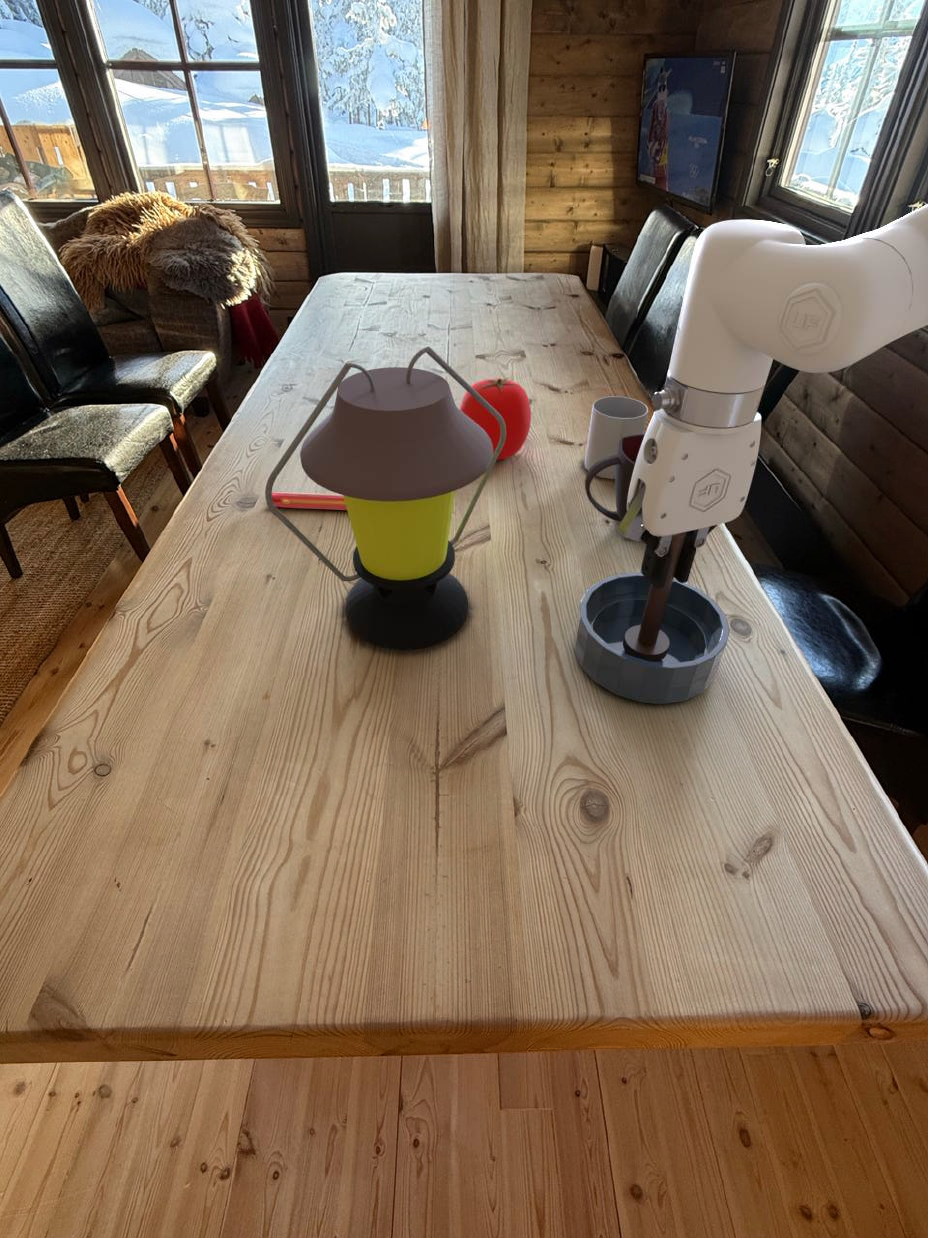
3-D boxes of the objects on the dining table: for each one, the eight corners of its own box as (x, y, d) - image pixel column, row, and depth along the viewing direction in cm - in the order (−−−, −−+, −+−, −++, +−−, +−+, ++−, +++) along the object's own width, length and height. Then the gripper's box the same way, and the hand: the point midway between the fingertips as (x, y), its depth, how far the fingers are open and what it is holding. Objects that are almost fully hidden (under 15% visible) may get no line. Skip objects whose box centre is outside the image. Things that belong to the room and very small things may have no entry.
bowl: (723, 634, 77) (738, 594, 73) (701, 728, 66) (717, 686, 62) (595, 598, 81) (602, 559, 77) (555, 680, 71) (561, 639, 67)
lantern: (294, 672, 71) (233, 403, 52) (306, 567, 86) (262, 326, 66) (520, 655, 73) (544, 392, 54) (494, 556, 88) (506, 319, 68)
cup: (596, 450, 112) (605, 392, 105) (643, 462, 108) (655, 403, 102) (576, 470, 106) (584, 410, 99) (625, 484, 103) (636, 423, 96)
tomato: (541, 462, 108) (549, 386, 100) (478, 476, 104) (480, 399, 96) (506, 432, 116) (510, 359, 108) (446, 444, 113) (445, 370, 104)
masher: (671, 640, 73) (705, 523, 63) (662, 668, 70) (697, 549, 60) (628, 628, 74) (655, 512, 64) (617, 654, 71) (644, 537, 61)
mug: (685, 547, 90) (707, 467, 82) (585, 549, 89) (598, 470, 81) (664, 508, 97) (683, 432, 90) (572, 511, 97) (582, 434, 89)
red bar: (276, 502, 99) (266, 509, 95) (275, 488, 98) (265, 494, 94) (435, 509, 98) (431, 516, 94) (435, 494, 97) (432, 501, 93)
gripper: (652, 431, 49) (613, 618, 61) (820, 402, 53) (753, 582, 65) (601, 393, 54) (574, 572, 66) (758, 370, 58) (706, 542, 71)
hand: (663, 576), depth 66 cm, fingers closed on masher
